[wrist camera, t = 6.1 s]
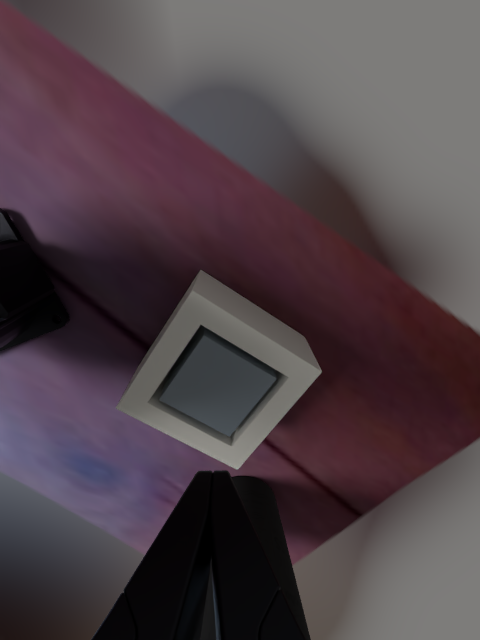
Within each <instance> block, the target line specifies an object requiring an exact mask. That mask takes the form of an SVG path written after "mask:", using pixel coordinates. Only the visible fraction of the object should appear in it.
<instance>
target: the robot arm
mask: <svg viewBox="0 0 480 640" xmlns="http://www.w3.org/2000/svg"><path fill="white" fill-rule="evenodd" d="M55 315H58V316H60V317H61V320H62V321H59V320H57V319H56V317H55ZM69 318H70V317H69V314H68V312H67V311H66V309H65V307H64V306H63V304H62V302H61V301H60V299H59V298H58V296H57V294H56V293H55V291H54V286H53V284H52V282H51V281H50V279H49V277H48V276H47V274H46V272H45V271H44V269H43V267H42V266H41V264H40V262H39V261H38V259H37V258H36V256H35V254H34V253H33V251H32V249H31V248H30V246H29V244H27V243H25V242H24V240H23V238H22V237H21V235H20V233H19V232H18V230H17V228H16V227H15V225H14V223H13V222H12V220H11V219H10V217H9V215H8V214H7V213H6V212H5V211H4V210H3V209H1V208H0V351H2V350H4V349H7V348H10V347H12V346H15V345H17V344H20V343H23V342H25V341H28V340H30V339H33V338H36V337H38V336H41V335H43V334H46V333H49V332H51V331H54V330H56V329H59V328H62V327H63V326H65V325H66V324H67V323H68V322H69ZM211 560H212V581H213V596H214V610H215V625H216V640H306V639H305V637H304V635H303V633H302V631H301V629H300V627H299V625H298V623H297V621H296V619H295V617H294V615H293V613H292V611H291V609H290V607H289V604H288V602H287V600H286V598H285V595H284V593H283V591H282V590H280V585H279V583H278V580H277V578H276V576H275V574H274V571H273V569H272V567H271V565H270V562H269V560H268V558H267V556H266V554H265V551H264V549H263V547H262V545H261V542H260V540H259V538H258V536H257V533H256V531H255V529H254V527H253V525H252V522H251V520H250V518H249V516H248V513H247V511H246V509H245V507H244V505H243V502H242V500H241V498H240V496H239V493H238V491H237V489H236V487H235V484H234V482H233V480H232V478H231V476H230V473H229V472H228V471H214V472H212V471H198V472H197V473H196V474H195V476H194V478H193V479H192V481H191V482H190V484H189V486H188V487H187V489H186V491H185V492H184V494H183V495H182V497H181V499H180V500H179V502H178V503H177V505H176V507H175V508H174V510H173V511H172V513H171V515H170V516H169V518H168V519H167V521H166V523H165V524H164V526H163V527H162V529H161V531H160V532H159V534H158V535H157V537H156V539H155V540H154V542H153V543H152V545H151V547H150V548H149V550H148V551H147V553H146V555H145V556H144V558H143V560H142V561H141V563H140V564H139V566H138V568H137V569H136V571H135V572H134V574H133V576H132V577H131V579H130V580H129V582H128V584H127V585H126V587H125V588H124V593H121V594H120V596H119V598H118V599H117V601H116V603H115V604H114V606H113V607H112V609H111V611H110V612H109V614H108V615H107V617H106V618H105V620H104V621H103V623H102V624H101V626H100V627H99V629H98V630H97V632H96V633H95V635H94V636H93V638H92V639H91V640H200V637H201V630H202V623H203V616H204V609H205V602H206V596H207V589H208V582H209V575H210V567H211Z"/></svg>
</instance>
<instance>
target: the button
mask: <svg viewBox="0 0 480 640" xmlns="http://www.w3.org/2000/svg"><path fill="white" fill-rule="evenodd" d="M276 379H277V378H276V374H275V370H274V368H272V367H270V366H269V365H267V364H265V363H264V362H262V361H261V360H259V359H257V358H256V357H254V356H252V355H251V354H249V353H247V352H246V351H244V350H242V349H241V348H239V347H237V346H236V345H234V344H232V343H231V342H229V341H227V340H226V339H224V338H222V337H221V336H219V335H217V334H216V333H214V332H212V331H211V330H209V329H207V328H206V327H204V326H203V325H200V326H199V328H198V329H197V331H196V332H195V334H194V335H193V337H192V338H191V340H190V341H189V342H188V344H187V345H186V347H185V348H184V350H183V351H182V353H181V354H180V356H179V357H178V359H177V360H176V361H175V363H174V364H173V366H172V367H171V369H170V370H169V373H168V376H167V379H166V382H165V384H164V387H163V390H162V393H161V396H160V399H159V400H160V401H162V402H164V403H166V404H168V405H170V406H172V407H174V408H176V409H178V410H179V411H181V412H183V413H185V414H187V415H189V416H191V417H193V418H195V419H196V420H198V421H200V422H202V423H204V424H206V425H208V426H210V427H212V428H213V429H215V430H217V431H219V432H221V433H223V434H225V435H227V436H229V437H230V436H231V434H232V433H233V432H234V431H235V429H236V428H237V427H238V426H239V425H240V423H241V422H242V421H243V420H244V418H245V417H246V416H247V415H248V414H249V412H250V411H251V410H252V409H253V407H254V406H255V405H256V404H257V403H258V401H259V400H260V399H261V398H262V396H263V395H264V394H265V393H266V392H267V390H268V389H269V388H270V387H271V385H272V384H273V383H274V382H275V381H276Z"/></svg>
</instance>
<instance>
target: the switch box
mask: <svg viewBox="0 0 480 640" xmlns="http://www.w3.org/2000/svg"><path fill="white" fill-rule="evenodd" d="M200 325H203V326H204V327H206V328H207V329H209V330H211V331H212V332H214V333H216V334H217V335H219V336H221V337H222V338H224V339H226V340H227V341H229V342H231V343H232V344H234V345H236V346H237V347H239V348H241V349H242V350H244V351H246V352H247V353H249V354H251V355H252V356H254V357H256V358H257V359H259V360H261V361H262V362H264V363H265V364H267V365H269V366H270V367H272V368H274V370H275V374H276V378H277V379H276V381H275V382H274V383H273V384H272V385H271V387H270V388H269V389H268V390H267V392H266V393H265V394H264V395H263V396H262V398H261V399H260V400H259V401H258V403H257V404H256V405H255V406H254V407H253V409H252V410H251V411H250V412H249V414H248V415H247V416H246V417H245V418H244V420H243V421H242V422H241V423H240V425H239V426H238V427H237V428H236V429H235V431H234V432H233V433H232V434H231V436H230V437H229V436H227V435H225V434H223V433H221V432H219V431H217V430H215V429H213V428H212V427H210V426H208V425H206V424H204V423H202V422H200V421H198V420H196V419H195V418H193V417H191V416H189V415H187V414H185V413H183V412H181V411H179V410H178V409H176V408H174V407H172V406H170V405H168V404H166V403H164V402H162V401H160V400H159V399H160V396H161V393H162V390H163V387H164V384H165V382H166V379H167V376H168V373H169V370H170V369H171V367H172V366H173V364H174V363H175V361H176V360H177V359H178V357H179V356H180V354H181V353H182V351H183V350H184V348H185V347H186V345H187V344H188V342H189V341H190V340H191V338H192V337H193V335H194V334H195V332H196V331H197V329H198V328H199V326H200ZM321 373H322V370H321V368H320V366H319V364H318V362H317V360H316V358H315V356H314V354H313V352H312V350H311V348H310V346H309V344H308V342H307V340H306V338H305V337H304V336H303V335H301V334H300V333H298V332H297V331H295V330H294V329H292V328H291V327H289V326H287V325H286V324H284V323H283V322H281V321H280V320H278V319H277V318H275V317H274V316H272V315H270V314H269V313H267V312H266V311H264V310H263V309H261V308H260V307H258V306H256V305H255V304H253V303H252V302H250V301H249V300H247V299H246V298H244V297H243V296H241V295H239V294H238V293H236V292H235V291H233V290H232V289H230V288H229V287H227V286H226V285H224V284H222V283H221V282H219V281H218V280H216V279H215V278H213V277H212V276H210V275H209V274H207V273H205V272H204V271H202V270H200V271H199V273H198V274H197V276H196V277H195V279H194V280H193V282H192V284H191V285H190V287H189V288H188V290H187V291H186V293H185V294H184V296H183V297H182V299H181V301H180V302H179V304H178V305H177V307H176V308H175V310H174V311H173V313H172V315H171V316H170V318H169V319H168V321H167V322H166V324H165V325H164V327H163V329H162V330H161V332H160V333H159V335H158V336H157V338H156V339H155V341H154V342H153V344H152V346H151V347H150V349H149V350H148V352H147V353H146V355H145V356H144V358H143V360H142V361H141V363H140V364H139V366H138V367H137V369H136V371H135V373H134V375H133V377H132V379H131V380H130V382H129V384H128V386H127V388H126V390H125V392H124V394H123V395H122V397H121V399H120V401H119V403H118V405H117V407H116V409H118V410H120V411H122V412H124V413H126V414H128V415H130V416H132V417H134V418H136V419H138V420H140V421H142V422H144V423H146V424H148V425H150V426H151V427H153V428H155V429H157V430H159V431H161V432H163V433H165V434H167V435H169V436H171V437H173V438H175V439H177V440H179V441H181V442H183V443H185V444H187V445H189V446H191V447H193V448H195V449H197V450H199V451H201V452H203V453H205V454H207V455H209V456H211V457H213V458H215V459H217V460H219V461H221V462H223V463H225V464H227V465H229V466H231V467H233V468H235V469H237V470H238V469H239V468H240V466H241V465H242V464H243V463H244V462H245V461H246V459H247V458H248V457H249V456H250V455H251V454H252V453H253V451H254V450H255V449H256V448H257V447H258V446H259V444H260V443H261V442H262V441H263V440H264V439H265V437H266V436H267V435H268V434H269V433H270V432H271V431H272V429H273V428H274V427H275V426H276V425H277V424H278V422H279V421H280V420H281V419H282V418H283V417H284V416H285V414H286V413H287V412H288V411H289V410H290V409H291V407H292V406H293V405H294V404H295V403H296V402H297V400H298V399H299V398H300V397H301V396H302V395H303V394H304V392H305V391H306V390H307V389H308V388H309V387H310V385H311V384H312V383H313V382H314V381H315V380H316V378H317V377H318V376H319V375H320V374H321Z"/></svg>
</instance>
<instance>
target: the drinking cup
mask: <svg viewBox="0 0 480 640" xmlns="http://www.w3.org/2000/svg"><path fill="white" fill-rule="evenodd" d="M232 480H233V482H234V484H235V487H236V489H237V491H238V493H239V496H240V498H241V500H242V502H243V505H244V507H245V509H246V511H247V513H248V516H249V518H250V520H251V522H252V525H253V527H254V529H255V531H256V533H257V536H258V538H259V540H260V542H261V545H262V547H263V549H264V551H265V554H266V556H267V558H268V560H269V562H270V565H271V567H272V569H273V571H274V574H275V576H276V578H277V580H278V583H279V585H280V590H282V591H283V593H284V595H285V598H286V600H287V602H288V604H289V607H290V609H291V611H292V613H293V615H294V617H295V619H296V621H297V623H298V625H299V627H300V629H301V631H302V633H303V635H304V637H305V639H306V640H311V639H310V635H309V632H308V628H307V623H306V619H305V615H304V611H303V608H302V603H301V599H300V595H299V591H298V588H297V584H296V579H295V576H294V572H293V568H292V563H291V559H290V555H289V551H288V547H287V543H286V539H285V535H284V531H283V527H282V523H281V519H280V515H279V511H278V507H277V503H276V499H275V496H274V493H273V491H272V489H271V488H270V487H269V486H268V485H267V484H266V483H264V482H263V481H261V480H259V479H256V478H253V477H247V476H238V477H232ZM200 640H216V625H215V610H214V596H213V581H212V560H211V567H210V575H209V582H208V589H207V596H206V602H205V609H204V616H203V623H202V630H201V637H200Z"/></svg>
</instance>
